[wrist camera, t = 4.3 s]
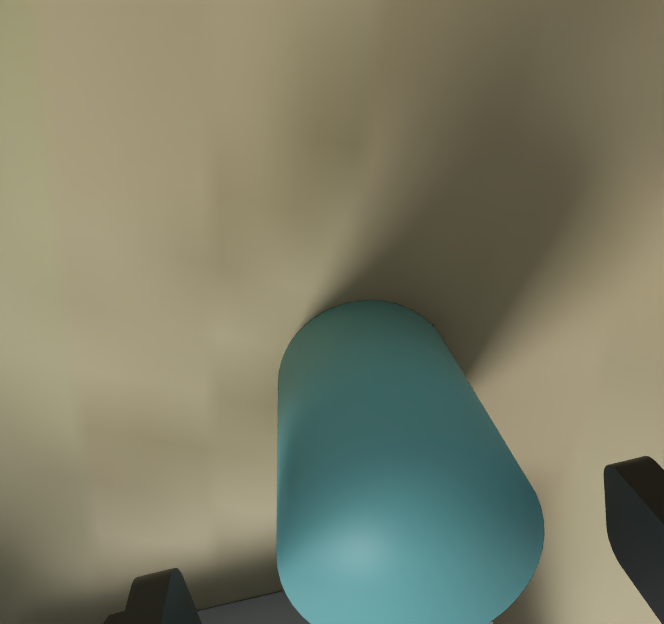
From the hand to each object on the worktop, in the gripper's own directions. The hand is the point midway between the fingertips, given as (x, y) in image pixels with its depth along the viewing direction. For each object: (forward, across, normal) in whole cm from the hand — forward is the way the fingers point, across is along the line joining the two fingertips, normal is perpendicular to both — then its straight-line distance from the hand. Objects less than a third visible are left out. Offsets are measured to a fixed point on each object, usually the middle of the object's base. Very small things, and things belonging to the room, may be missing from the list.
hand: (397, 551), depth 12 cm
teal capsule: (+7, 0, 0) cm, 7 cm away
